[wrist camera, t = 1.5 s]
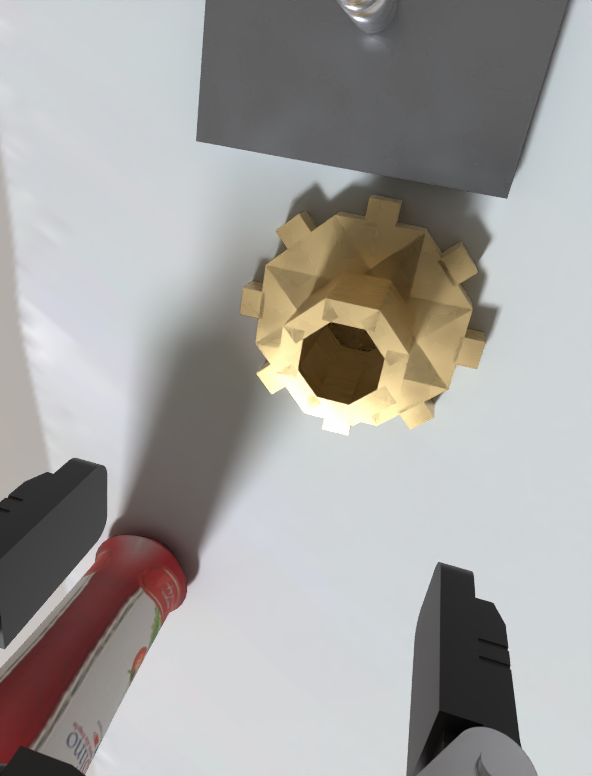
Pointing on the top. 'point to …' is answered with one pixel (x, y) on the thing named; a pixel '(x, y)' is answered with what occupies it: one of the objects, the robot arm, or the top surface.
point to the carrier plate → (379, 84)
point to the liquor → (88, 652)
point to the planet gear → (364, 316)
